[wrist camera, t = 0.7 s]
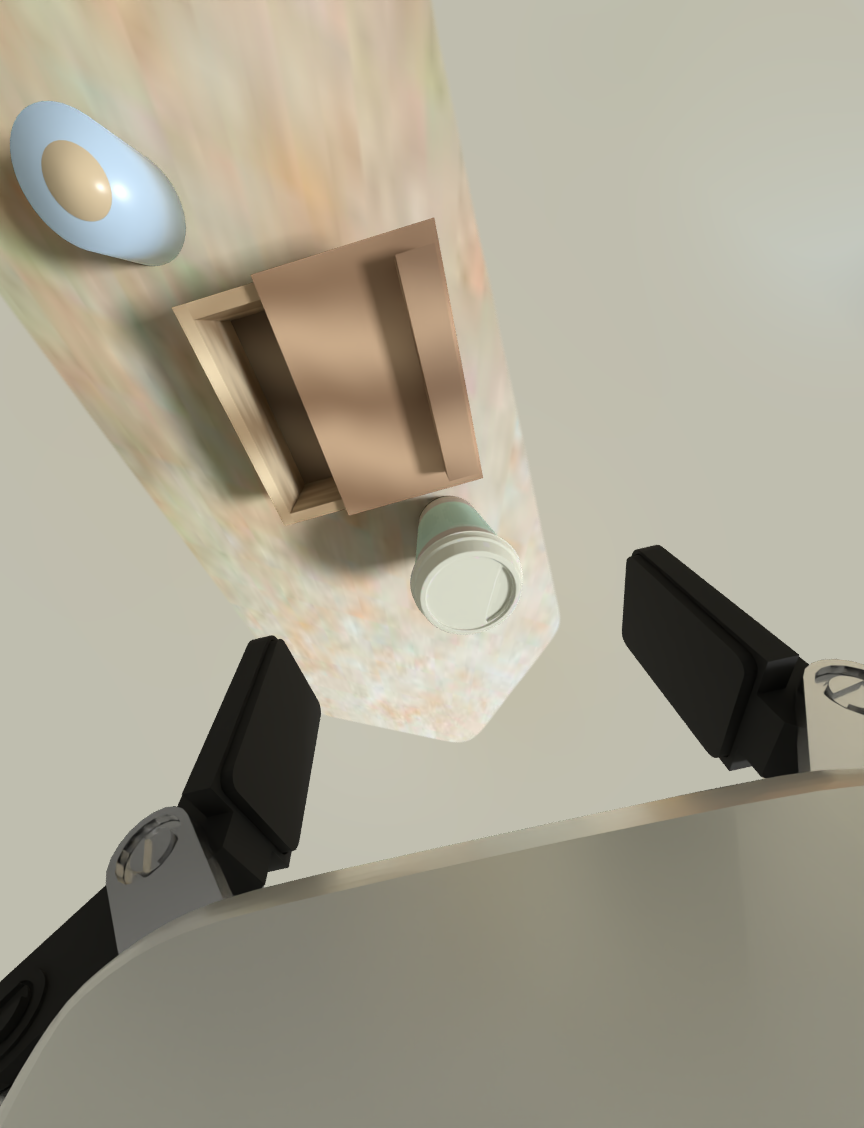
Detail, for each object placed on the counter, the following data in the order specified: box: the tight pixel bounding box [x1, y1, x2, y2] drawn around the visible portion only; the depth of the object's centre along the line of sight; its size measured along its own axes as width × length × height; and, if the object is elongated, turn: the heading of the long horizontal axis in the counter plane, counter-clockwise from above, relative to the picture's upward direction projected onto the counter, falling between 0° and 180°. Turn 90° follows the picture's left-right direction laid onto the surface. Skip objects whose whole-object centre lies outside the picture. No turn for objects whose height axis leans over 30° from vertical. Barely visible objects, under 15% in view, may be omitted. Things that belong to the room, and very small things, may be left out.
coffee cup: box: [410, 496, 523, 635], centre depth 33 cm, size 9×8×12 cm
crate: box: [172, 282, 346, 526], centre depth 28 cm, size 14×10×7 cm
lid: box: [251, 218, 483, 515], centre depth 23 cm, size 14×10×3 cm
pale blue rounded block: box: [10, 101, 186, 266], centre depth 22 cm, size 6×6×6 cm
